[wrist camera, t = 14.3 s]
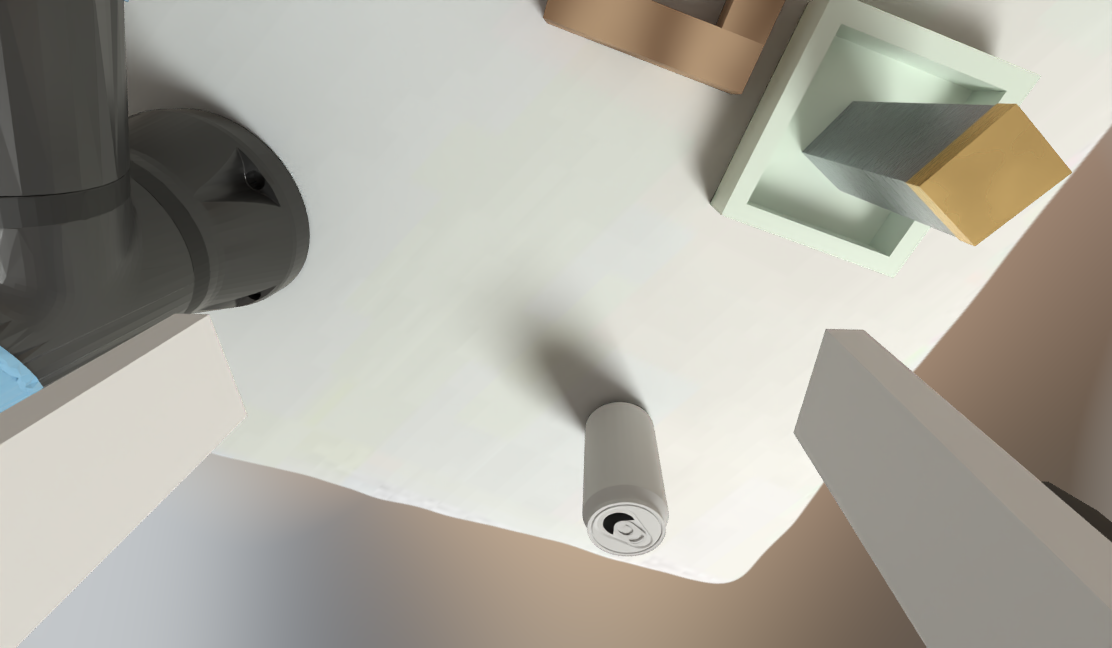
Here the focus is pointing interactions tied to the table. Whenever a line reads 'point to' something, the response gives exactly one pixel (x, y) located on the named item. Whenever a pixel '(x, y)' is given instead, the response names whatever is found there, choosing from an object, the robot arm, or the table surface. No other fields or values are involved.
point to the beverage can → (623, 481)
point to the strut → (939, 162)
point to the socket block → (676, 35)
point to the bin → (820, 97)
